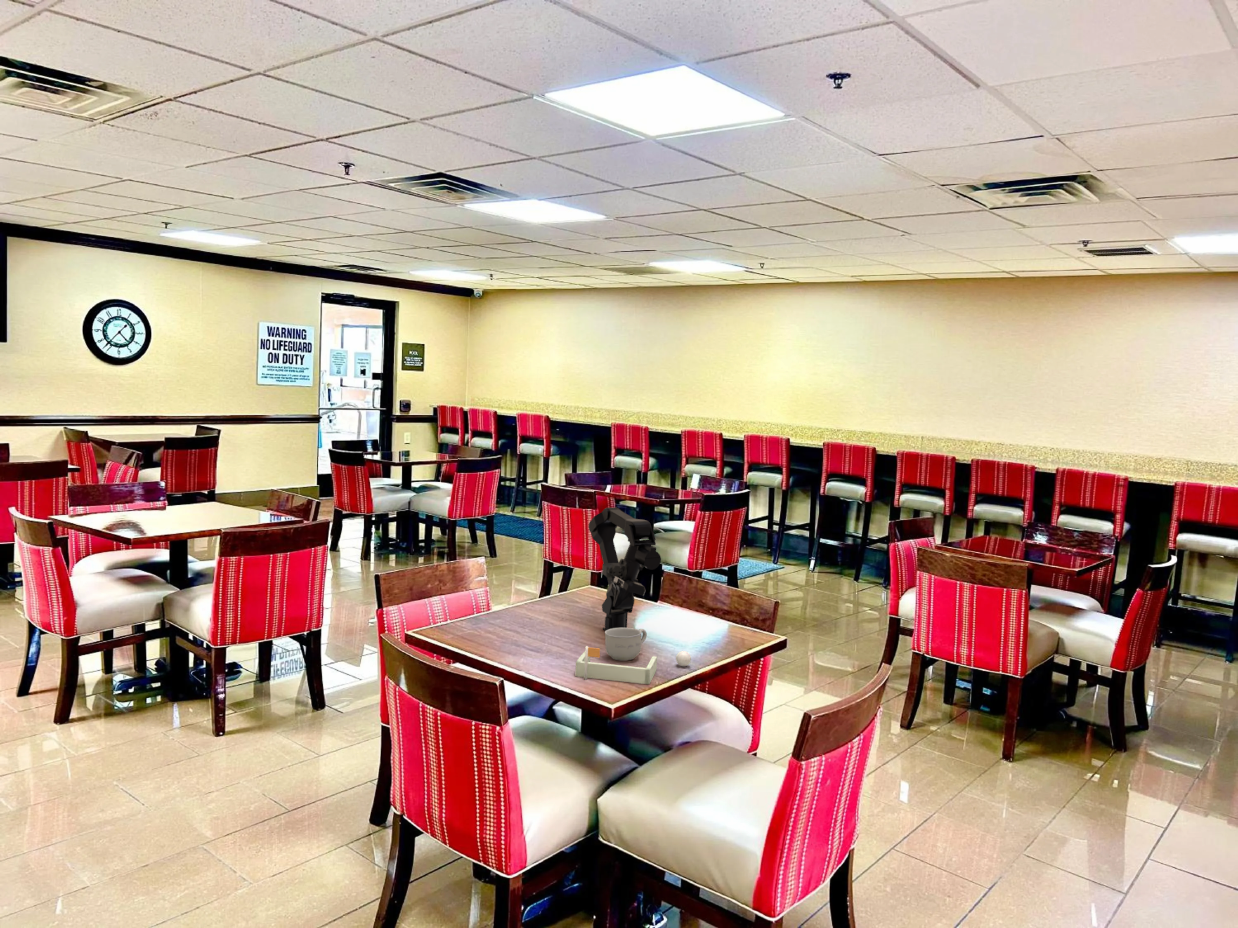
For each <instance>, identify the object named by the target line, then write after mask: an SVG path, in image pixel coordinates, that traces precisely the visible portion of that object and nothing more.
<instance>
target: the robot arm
mask: <svg viewBox="0 0 1238 928" xmlns="http://www.w3.org/2000/svg"><path fill="white" fill-rule="evenodd" d="M617 528H620V529H622V530H623V531H624V533H623V534H624V535H625V537H626V538H627V542H629V545H628V548H627V550H626V553H625V554H624V557H623V558H620V560H619V558H618V554H617V549H616V546H615V542H614V539H615V537H616V536H615V535H616V533H617V530H616V529H617ZM588 530H589V533H590V534H591V537H592V539H593V540H594V542H595V543H597V545H598V546H599V550H600V553H601V558H602V559H601V560H602V562H603V563H602V571H601V572H602V575H604V576H605V577H606V579H607V583H608V587H607V590H606V593H605V597H606V598H605V599H604V601H603V603H602V604H601V611H602V612H603V613H604V614H606V616H605V617H604V627H602V629H603V630H604V631H606V630H609V629H612V628H628V614H629V613H630V614H631V613H633V608H634V605H635V596H634V594H636V595H638V596H641V597H643V596H645V595H646V594H645V593H646V590H647V589H646V587H645V586H644V585H643V584H642V583H640V582H639V579H637V578H638V575H639V572H640V571H643V570H644V567H645V568H646V569H647V570H651V571H653V570H656V569H657V568H658V567H659V566H660V564H661V561H662V558H661V554H660V553H659V552H658V551H657V547H655V546H656V537H655V534H654V530H653V528H652V525H651V523H650V522H649V520H645V519H641V518H640V519H638V518H634V517H633V516H631V515H629V514H627V512H624V511H623V510H621V509H620V508H618V507H605V508H604V509H603V510H602V511H601V512H600V513H597V514H595V515H594V516H593V517H592V519H591V520H590V521H589V523H588Z"/></svg>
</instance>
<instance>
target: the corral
mask: <svg viewBox="0 0 1238 928" xmlns="http://www.w3.org/2000/svg"><path fill="white" fill-rule="evenodd" d="M600 656H601V648H599V647H598V648H596V647H589V646H588V645H586V646H585V651H583V652H582V654H581V655H580V656H579V657H578V659H577V660H576V661H575V673H574V675H575V677H579V678H583V680H588V679H598V680H604V681H605V680H606V681H613V682H614V681H615V682H623V683H624V682H625V683H632V684H640V685H641V684H642V685H650V684H651V682H652V679H653V677H654V676H655V674H656V673H657V665H658V664H657V663H658V656H656V655H652V657H651V658H650V661H649V662H648V665H647V666H646V667H640V666H639V667H638V666H630V665H620V664H613V663H612V664H610V663H603V662H602V663H600V662H591V658H599V659H600V658H601V657H600Z"/></svg>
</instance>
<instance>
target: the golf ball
mask: <svg viewBox="0 0 1238 928" xmlns="http://www.w3.org/2000/svg"><path fill="white" fill-rule="evenodd" d="M675 661H676V663H677V664H678V665H679V666H680V667H687V666H688V665H690V663H691V661H692V657H691V654H690V653H689V652H688V651H685V650H682V651H679V652H678V653H677V654H676V656H675Z"/></svg>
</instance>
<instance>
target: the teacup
mask: <svg viewBox="0 0 1238 928" xmlns="http://www.w3.org/2000/svg"><path fill="white" fill-rule="evenodd" d="M604 636H605V637H604V640H605V641H604V643H605V652H606V654H607V655H608V657H611V659H613V660H615V661H622V662H623V661H631V660H633V659H635V658H636V657H637V656H638V655H640V653H641V649H642V645H643V644H644V642H645V641H646V639H647V637H648V636H647V631H646V630H645V629H644V628H638V629H636V628H632V627H627V628H612V629H609V630H604Z"/></svg>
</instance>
